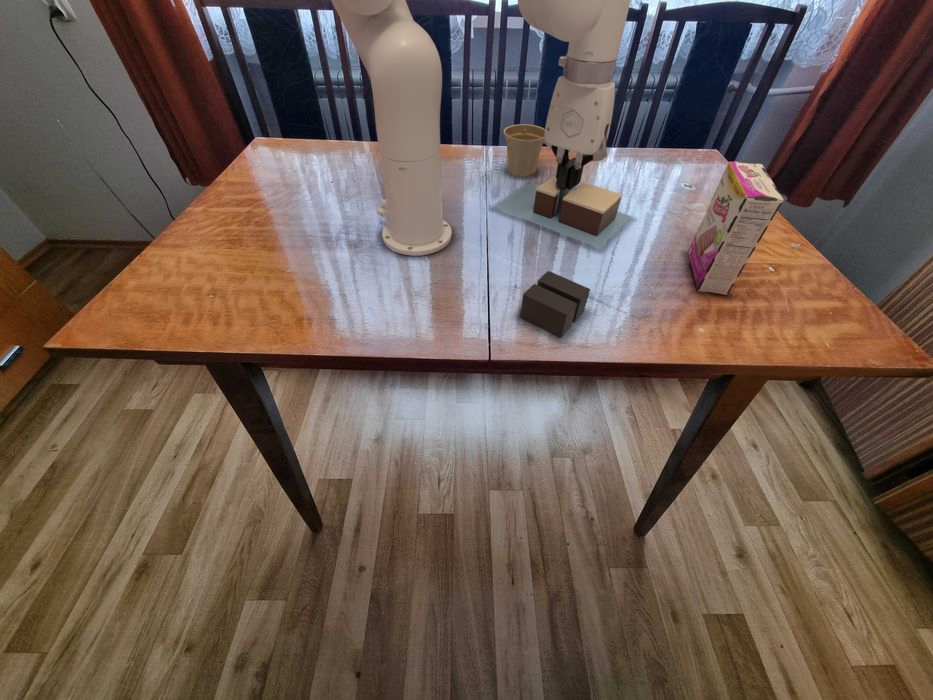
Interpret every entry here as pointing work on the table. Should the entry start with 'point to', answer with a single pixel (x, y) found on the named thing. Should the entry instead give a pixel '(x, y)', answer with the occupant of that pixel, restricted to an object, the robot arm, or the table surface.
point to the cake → (589, 208)
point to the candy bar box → (732, 226)
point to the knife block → (554, 303)
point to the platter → (524, 205)
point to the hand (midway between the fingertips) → (566, 184)
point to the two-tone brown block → (546, 198)
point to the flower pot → (523, 148)
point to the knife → (563, 184)
